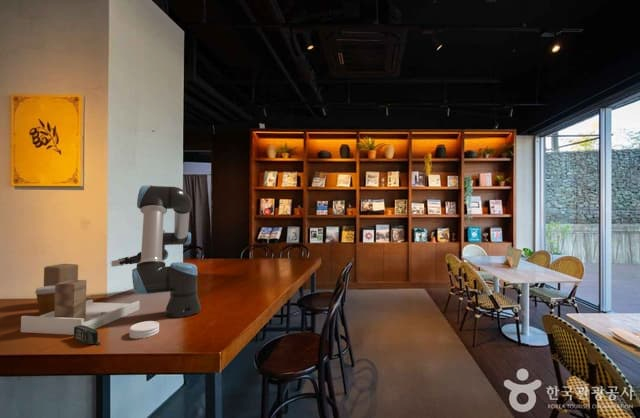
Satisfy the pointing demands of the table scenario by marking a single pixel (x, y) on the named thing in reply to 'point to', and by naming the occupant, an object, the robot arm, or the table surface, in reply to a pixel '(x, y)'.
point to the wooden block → (60, 273)
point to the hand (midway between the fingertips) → (112, 263)
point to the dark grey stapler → (86, 335)
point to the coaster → (144, 329)
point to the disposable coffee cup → (46, 299)
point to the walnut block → (70, 299)
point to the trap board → (94, 318)
